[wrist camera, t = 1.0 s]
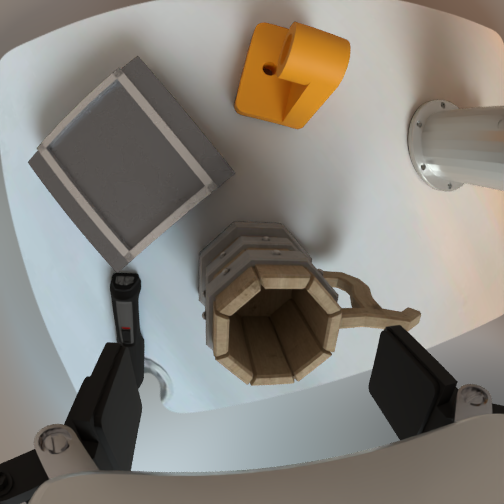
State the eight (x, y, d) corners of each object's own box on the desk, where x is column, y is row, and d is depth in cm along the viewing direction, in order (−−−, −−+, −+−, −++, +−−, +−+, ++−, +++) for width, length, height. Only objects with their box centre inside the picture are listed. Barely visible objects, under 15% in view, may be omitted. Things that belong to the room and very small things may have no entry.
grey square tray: (146, 68, 30) (136, 53, 24) (231, 171, 34) (236, 173, 29) (48, 160, 31) (24, 162, 25) (127, 258, 35) (115, 276, 30)
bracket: (253, 29, 30) (275, -21, 19) (314, 46, 32) (358, 8, 20) (231, 113, 33) (245, 91, 21) (295, 129, 34) (337, 118, 23)
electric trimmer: (123, 375, 40) (119, 390, 37) (111, 271, 36) (104, 281, 33) (149, 377, 41) (146, 392, 38) (142, 272, 36) (137, 283, 33)
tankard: (199, 323, 39) (199, 406, 25) (200, 220, 35) (197, 261, 21) (351, 319, 42) (407, 385, 28) (366, 227, 38) (442, 264, 24)
